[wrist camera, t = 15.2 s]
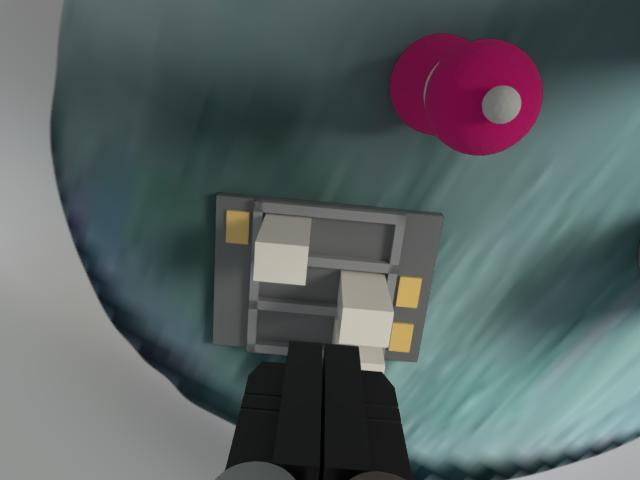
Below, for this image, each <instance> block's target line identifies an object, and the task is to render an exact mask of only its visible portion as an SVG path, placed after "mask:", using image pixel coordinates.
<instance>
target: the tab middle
mask: <svg viewBox="0 0 640 480" xmlns="http://www.w3.org/2000/svg"><path fill="white" fill-rule="evenodd" d="M337 306H338V335H339V343H340V344H352V345H363V346H374V347H385V348H389V342H390V335H391V329H392V323H393V317H394V310H393V306H392V302H391V298H390V294H389V290H388V286H387V282H386V278H385V274H384V273H374V272H363V271H352V270H341V273H340V282H339V291H338V299H337Z"/></svg>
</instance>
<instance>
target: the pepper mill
mask: <svg viewBox="0 0 640 480" xmlns="http://www.w3.org/2000/svg"><path fill="white" fill-rule="evenodd" d="M390 95H391V100H392V103H393V106H394V108H395V110H396V112H397V114H398V115H399V117H400V118H401V119H402V121H403V122H405V123H406V124H407V125H408V126H409V127H411V128H413V129H415V130H417V131H419V132H422V133H425V134H430V135H436V136H437V137H438V138H439V139H440V140H441V141H442V142H443V143H444V144H446V145H447V146H449V147H451V148H452V149H454V150H456V151H458V152H461V153H464V154H469V155H481V156H484V155H490V154H495V153H498V152H501V151H503V150H505V149H507V148H509V147H511V146H513V145H514V144H515V143H517V142H518V141H520V140H521V139H522V138H523V137H524V136H525V135H526V134H527V133H528V132H529V130H530V129H531V127H532V126H533V124H534V123H535V122H536V120H537V117H538V115H539V112H540V109H541V104H542V97H543V88H542V81H541V76H540V74H539V72H538V69H537V67H536V65H535V64H534V62H533V61H532V59H531V58H530V57H529V56H528V55H527V54H526V53H525V52H524V51H523V50H521V49H520V48H518V47H517V46H515V45H513V44H511V43H509V42H506V41H502V40H498V39H479V40H475V41H471V42H470V41H468V40H466V39H464V38H462V37H459V36H456V35H451V34H433V35H429V36H426V37H423V38H421V39H419V40H417V41H416V42H414V43H413V44H411V45H410V46H409V47H408V48H407V49H406V50H405V51H404V52H403V53H402V55H401V56H400V57H399V59H398V61H397V62H396V64H395V66H394V69H393V72H392V75H391V80H390Z"/></svg>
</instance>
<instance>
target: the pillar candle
mask: <svg viewBox="0 0 640 480" xmlns="http://www.w3.org/2000/svg"><path fill="white" fill-rule="evenodd" d="M638 263H639V267H640V243H639V248H638Z"/></svg>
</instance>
